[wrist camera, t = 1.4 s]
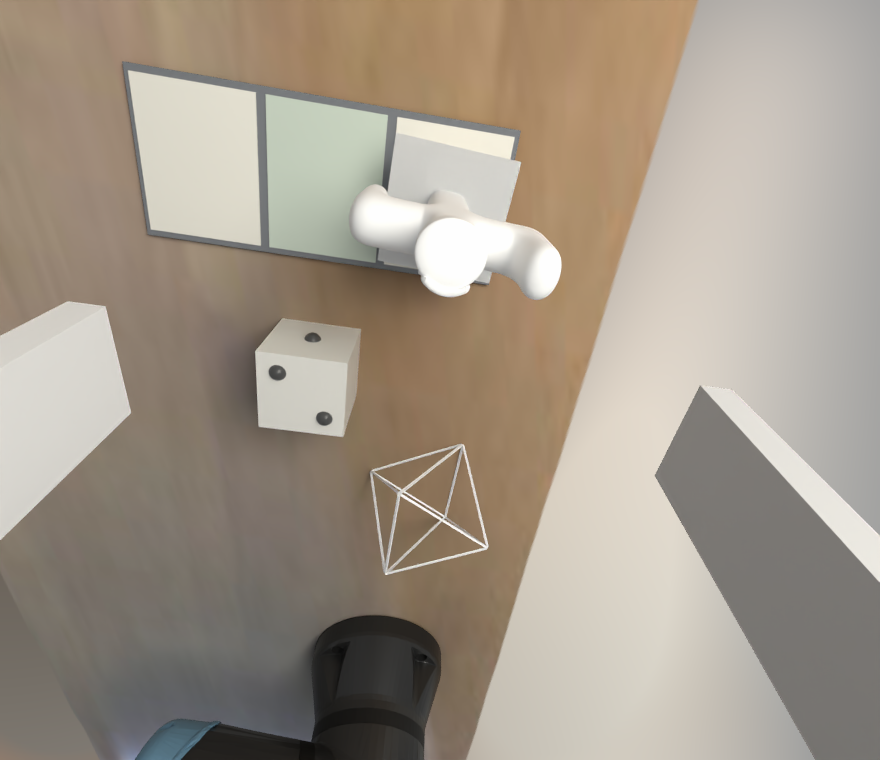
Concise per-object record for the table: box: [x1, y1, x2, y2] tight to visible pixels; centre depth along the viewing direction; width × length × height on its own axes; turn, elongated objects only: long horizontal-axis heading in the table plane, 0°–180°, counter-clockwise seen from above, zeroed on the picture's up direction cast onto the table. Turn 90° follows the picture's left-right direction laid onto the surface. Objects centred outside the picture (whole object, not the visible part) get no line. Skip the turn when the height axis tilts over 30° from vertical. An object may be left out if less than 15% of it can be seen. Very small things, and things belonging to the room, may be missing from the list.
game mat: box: [122, 61, 521, 285], centre depth 30 cm, size 10×24×1 cm, turn 81°
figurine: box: [349, 133, 561, 300], centre depth 24 cm, size 7×9×15 cm
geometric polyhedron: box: [370, 444, 488, 575], centre depth 40 cm, size 10×9×8 cm
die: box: [255, 318, 361, 437], centre depth 34 cm, size 6×6×6 cm
